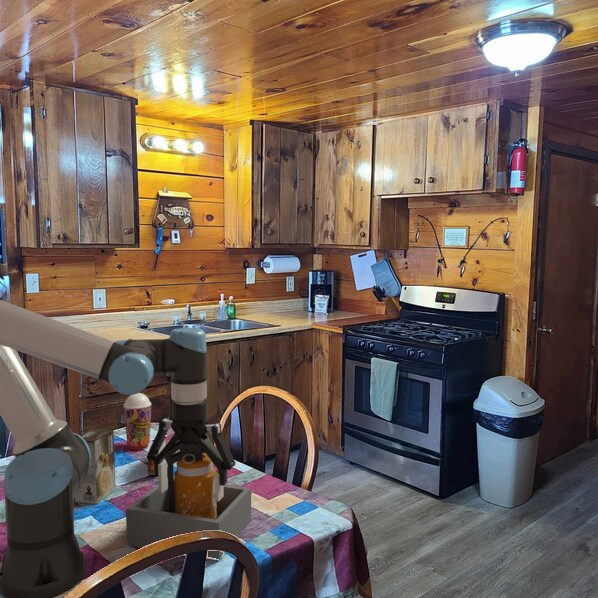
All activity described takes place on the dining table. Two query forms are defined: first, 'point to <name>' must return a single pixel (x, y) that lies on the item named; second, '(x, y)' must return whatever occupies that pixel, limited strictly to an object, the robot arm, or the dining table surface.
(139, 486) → the dining table surface
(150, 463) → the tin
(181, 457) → the canister
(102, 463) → the coffee box
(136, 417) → the smoothie
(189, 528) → the bin
